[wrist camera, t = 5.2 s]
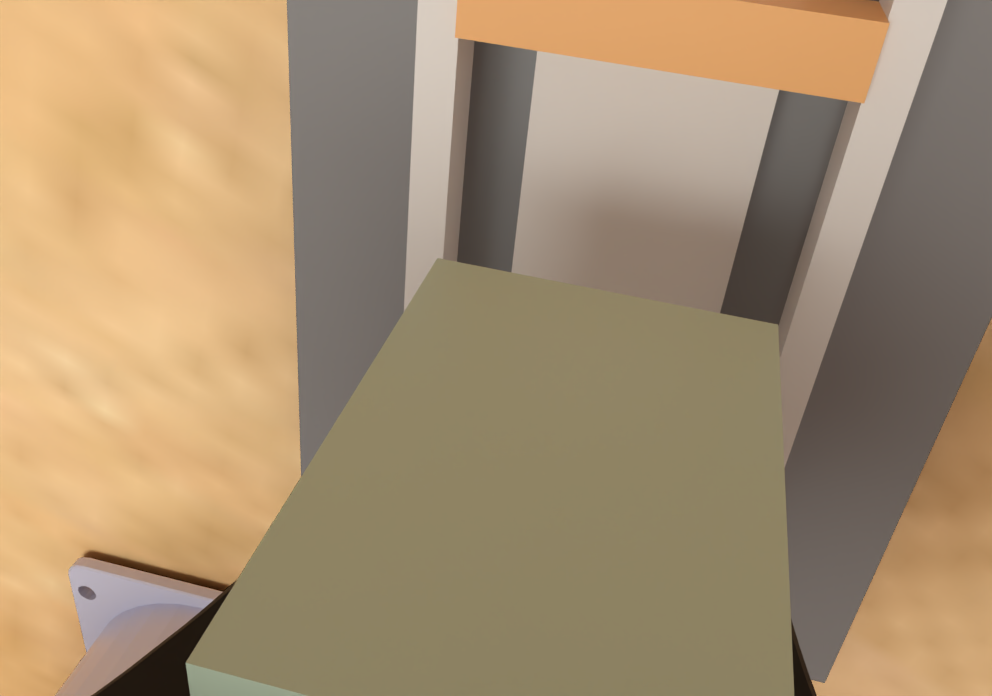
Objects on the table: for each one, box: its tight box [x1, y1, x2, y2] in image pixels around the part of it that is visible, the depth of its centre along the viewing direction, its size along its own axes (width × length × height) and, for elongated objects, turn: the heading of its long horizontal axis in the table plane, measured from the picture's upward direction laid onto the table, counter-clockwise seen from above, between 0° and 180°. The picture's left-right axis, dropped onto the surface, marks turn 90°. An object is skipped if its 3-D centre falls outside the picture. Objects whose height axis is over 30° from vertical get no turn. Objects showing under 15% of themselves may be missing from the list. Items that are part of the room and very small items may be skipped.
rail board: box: [287, 0, 992, 683], centre depth 16 cm, size 16×12×3 cm
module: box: [186, 258, 794, 696], centre depth 10 cm, size 6×4×6 cm, turn 174°
